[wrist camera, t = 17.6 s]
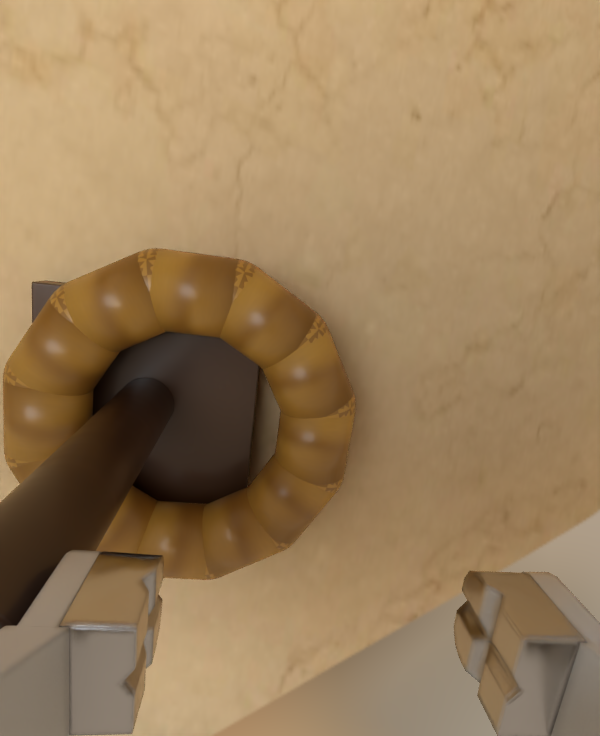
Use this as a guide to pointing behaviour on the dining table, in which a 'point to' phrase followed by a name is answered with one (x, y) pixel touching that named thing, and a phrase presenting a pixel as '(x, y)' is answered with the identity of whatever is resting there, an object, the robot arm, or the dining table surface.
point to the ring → (205, 318)
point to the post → (130, 452)
